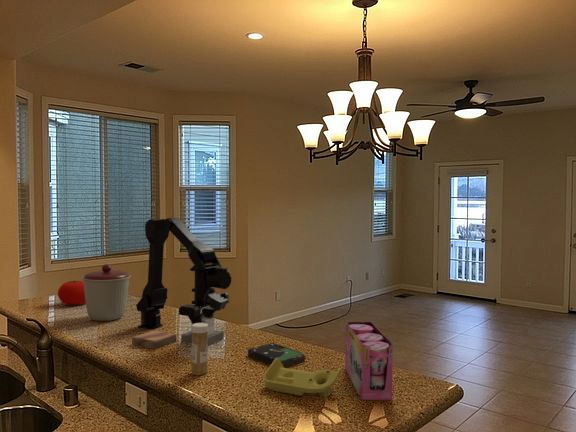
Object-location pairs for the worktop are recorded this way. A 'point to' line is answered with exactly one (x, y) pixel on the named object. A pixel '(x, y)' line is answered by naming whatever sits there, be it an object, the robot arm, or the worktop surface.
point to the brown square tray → (154, 339)
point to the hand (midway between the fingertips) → (202, 331)
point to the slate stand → (210, 338)
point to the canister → (106, 293)
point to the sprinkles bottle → (199, 348)
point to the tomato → (72, 293)
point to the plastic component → (299, 380)
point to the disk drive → (276, 354)
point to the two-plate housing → (210, 324)
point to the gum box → (369, 360)
